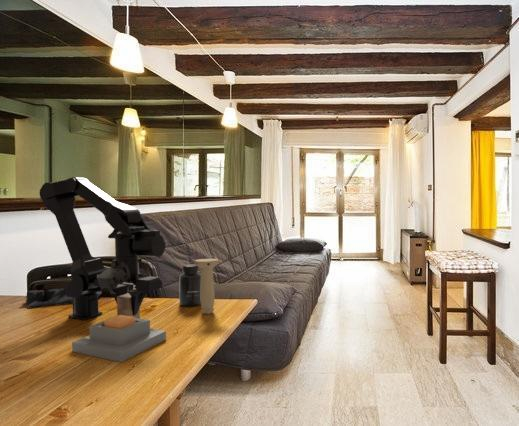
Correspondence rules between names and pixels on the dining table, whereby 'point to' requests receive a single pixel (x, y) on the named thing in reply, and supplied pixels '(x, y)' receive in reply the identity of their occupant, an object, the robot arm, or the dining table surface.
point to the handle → (207, 284)
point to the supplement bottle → (189, 286)
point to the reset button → (119, 321)
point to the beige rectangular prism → (125, 306)
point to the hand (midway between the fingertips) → (128, 313)
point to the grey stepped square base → (119, 340)
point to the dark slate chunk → (49, 297)
